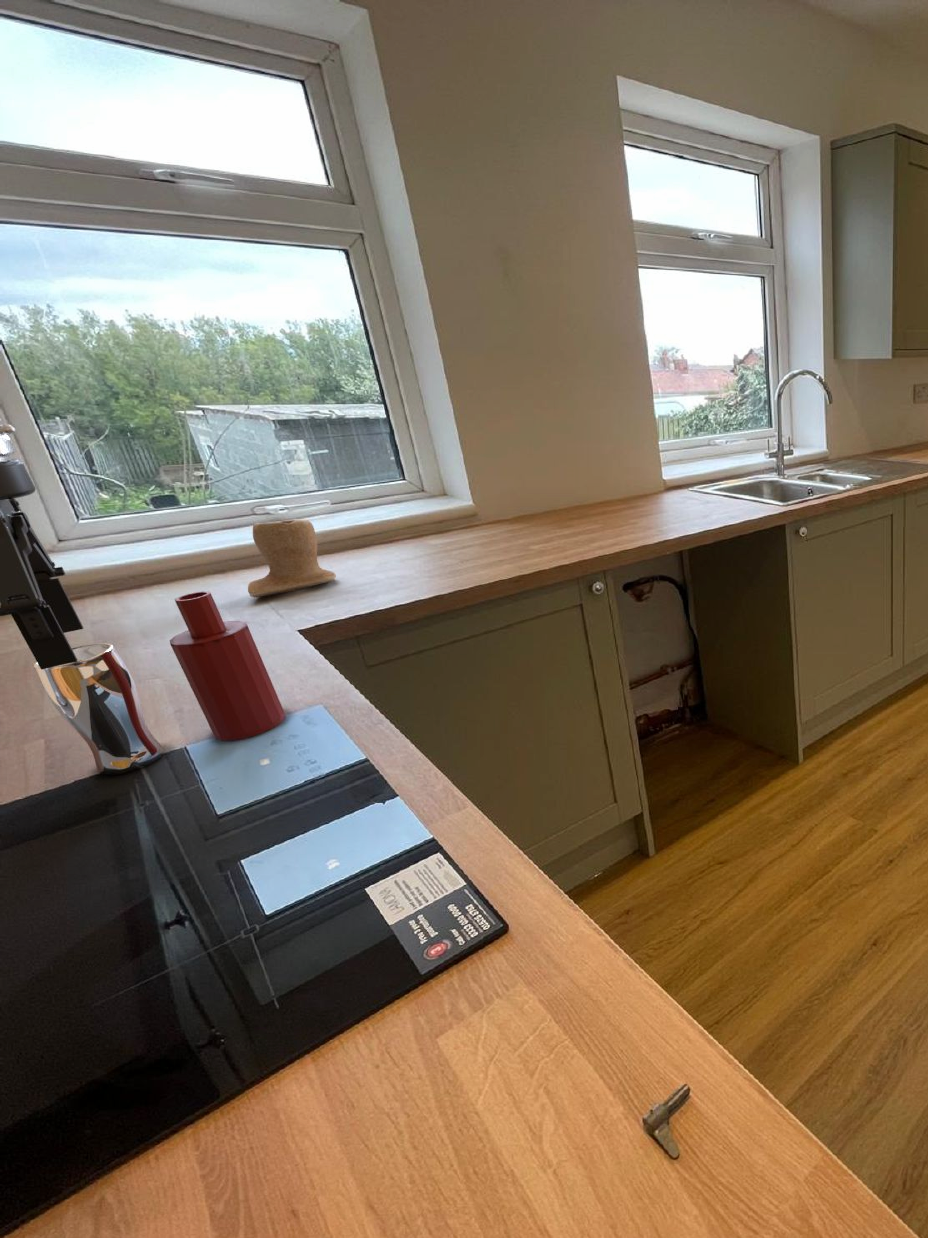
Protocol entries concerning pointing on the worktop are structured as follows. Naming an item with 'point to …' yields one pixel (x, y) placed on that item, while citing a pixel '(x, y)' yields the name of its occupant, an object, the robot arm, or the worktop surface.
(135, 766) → the beer glass
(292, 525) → the brown top hat
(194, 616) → the sauce bottle
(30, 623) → the robot arm
